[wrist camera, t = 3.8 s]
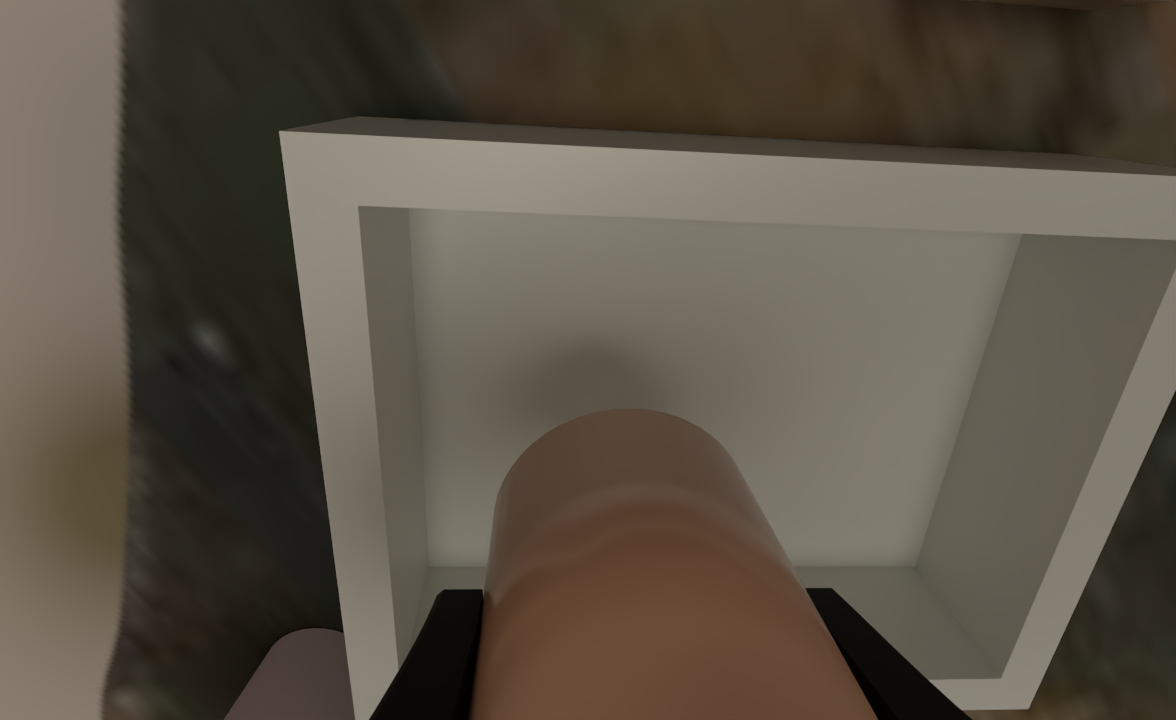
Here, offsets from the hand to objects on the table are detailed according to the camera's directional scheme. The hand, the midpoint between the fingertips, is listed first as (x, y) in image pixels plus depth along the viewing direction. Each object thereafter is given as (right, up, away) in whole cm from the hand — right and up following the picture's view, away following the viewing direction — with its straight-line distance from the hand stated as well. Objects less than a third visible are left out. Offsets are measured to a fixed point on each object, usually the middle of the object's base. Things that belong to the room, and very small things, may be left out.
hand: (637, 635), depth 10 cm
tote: (+2, +4, +9) cm, 10 cm away
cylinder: (0, +1, +2) cm, 2 cm away
